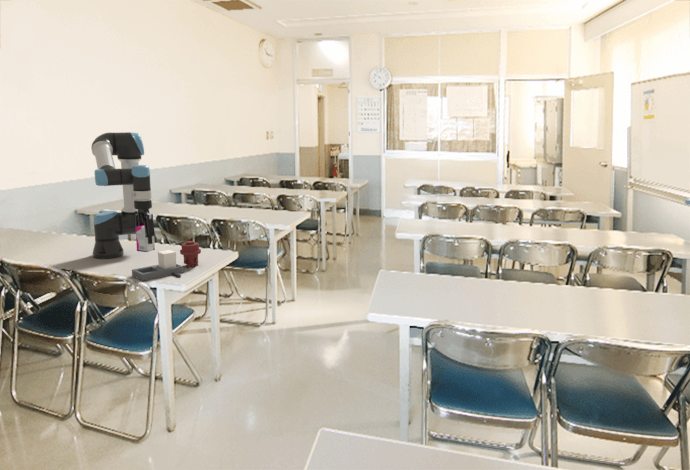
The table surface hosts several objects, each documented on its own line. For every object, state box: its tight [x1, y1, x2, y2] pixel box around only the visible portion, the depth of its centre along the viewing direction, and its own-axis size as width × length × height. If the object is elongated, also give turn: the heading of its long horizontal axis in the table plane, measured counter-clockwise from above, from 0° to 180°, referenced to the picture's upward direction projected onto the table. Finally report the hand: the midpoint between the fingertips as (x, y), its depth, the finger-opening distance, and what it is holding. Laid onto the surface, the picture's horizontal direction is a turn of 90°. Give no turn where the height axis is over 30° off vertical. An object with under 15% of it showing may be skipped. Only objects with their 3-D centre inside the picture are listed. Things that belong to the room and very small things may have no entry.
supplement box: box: [135, 225, 156, 253], centre depth 243 cm, size 6×6×12 cm
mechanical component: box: [179, 240, 202, 268], centre depth 264 cm, size 12×10×10 cm
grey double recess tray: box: [131, 249, 184, 282], centre depth 247 cm, size 18×20×10 cm
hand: (146, 249), depth 244 cm, fingers closed on supplement box, 7 cm apart
